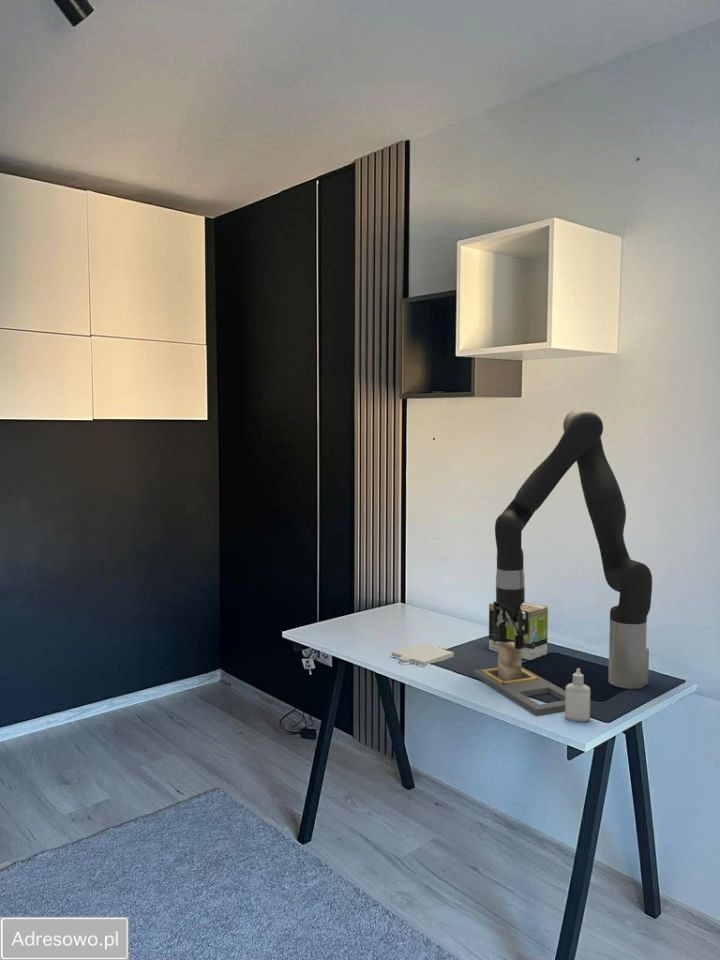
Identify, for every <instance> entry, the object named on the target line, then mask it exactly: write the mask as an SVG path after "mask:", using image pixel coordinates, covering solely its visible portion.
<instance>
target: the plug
mask: <svg viewBox="0 0 720 960" xmlns="http://www.w3.org/2000/svg"><path fill="white" fill-rule="evenodd" d="M522 659H523V658H522V649H516V648H515V643H514V642H506V643H498V652H497V667H498V676H497V678H499V679H501V680H502V681H511V680H518V679H522V678H521V667H522Z"/></svg>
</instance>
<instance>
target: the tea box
mask: <svg viewBox="0 0 720 960" xmlns="http://www.w3.org/2000/svg"><path fill="white" fill-rule="evenodd" d="M488 605H489V606H488V650H489V649H490V650H489V651H492V650H493V651H492V652H496V653H498V643H506V642H514V643H515V633H514V630H513V628H511V626H510V624H509V623H508V622H507V624H506V625H505V626H506V627H507V639H506V640H502V641H500V640H499V639H498V626H497V624H496V623H494V622H493V606H494V602H491V603H489V604H488ZM520 607H521V611H523V612H524V611H527V612H528V621H529V634H525V635H524V646H523V648H522V659H524V660H527V661H532V660H535V659H537V657H538V658H540V657H542V655H543V656H546V655H548V654H547V653H548V633H549V631H548V628H549V627H548V625H549V623H548V620H549V618H548V617H549V612H548V610H549V608H548V607H549V606H547V605H541V604H536V603H530V602H525V601H524V603H523V604H521V606H520ZM498 616H499V614H497V618H498ZM517 623H518V622H517ZM523 627H524V630H525V625H523ZM517 630H518V627H517Z"/></svg>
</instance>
